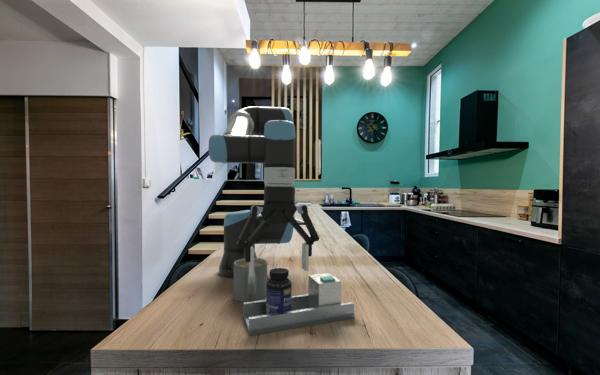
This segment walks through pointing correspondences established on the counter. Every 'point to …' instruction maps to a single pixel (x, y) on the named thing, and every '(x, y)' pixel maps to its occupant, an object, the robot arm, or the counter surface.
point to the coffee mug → (250, 280)
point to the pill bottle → (278, 291)
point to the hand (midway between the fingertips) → (279, 272)
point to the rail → (301, 308)
